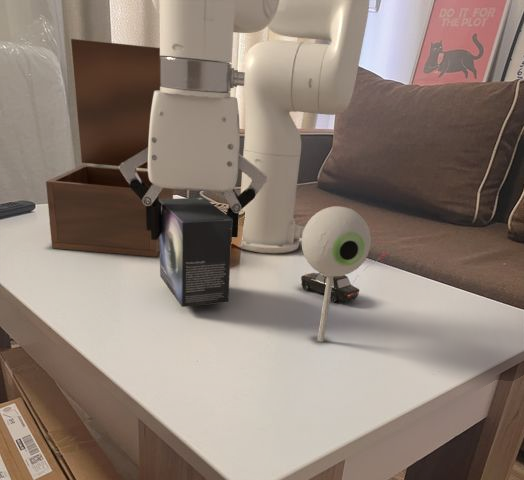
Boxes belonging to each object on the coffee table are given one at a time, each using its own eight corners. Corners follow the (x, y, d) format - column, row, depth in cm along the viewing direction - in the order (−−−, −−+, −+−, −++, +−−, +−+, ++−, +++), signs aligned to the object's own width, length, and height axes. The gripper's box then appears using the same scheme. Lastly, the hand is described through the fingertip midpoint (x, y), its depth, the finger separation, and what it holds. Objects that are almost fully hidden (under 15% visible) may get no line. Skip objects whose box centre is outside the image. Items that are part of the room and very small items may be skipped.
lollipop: (301, 356, 56) (321, 214, 49) (281, 328, 62) (296, 198, 55) (362, 353, 58) (389, 216, 51) (336, 326, 64) (357, 200, 57)
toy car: (314, 283, 77) (322, 230, 74) (382, 310, 70) (393, 252, 66) (296, 287, 75) (303, 232, 71) (364, 316, 67) (376, 256, 64)
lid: (173, 49, 83) (177, 48, 87) (70, 38, 82) (80, 38, 87) (173, 171, 93) (177, 164, 97) (81, 162, 92) (89, 156, 96)
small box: (156, 276, 70) (155, 197, 65) (202, 273, 73) (205, 196, 68) (179, 308, 62) (179, 219, 57) (230, 303, 64) (235, 217, 59)
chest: (156, 257, 82) (156, 191, 77) (51, 248, 81) (45, 181, 76) (172, 229, 98) (173, 173, 93) (85, 221, 97) (82, 165, 92)
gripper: (275, 86, 60) (263, 236, 68) (121, 72, 59) (127, 226, 67) (278, 88, 53) (263, 254, 61) (104, 72, 52) (113, 243, 60)
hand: (192, 239), depth 64 cm, fingers closed on small box, 8 cm apart
